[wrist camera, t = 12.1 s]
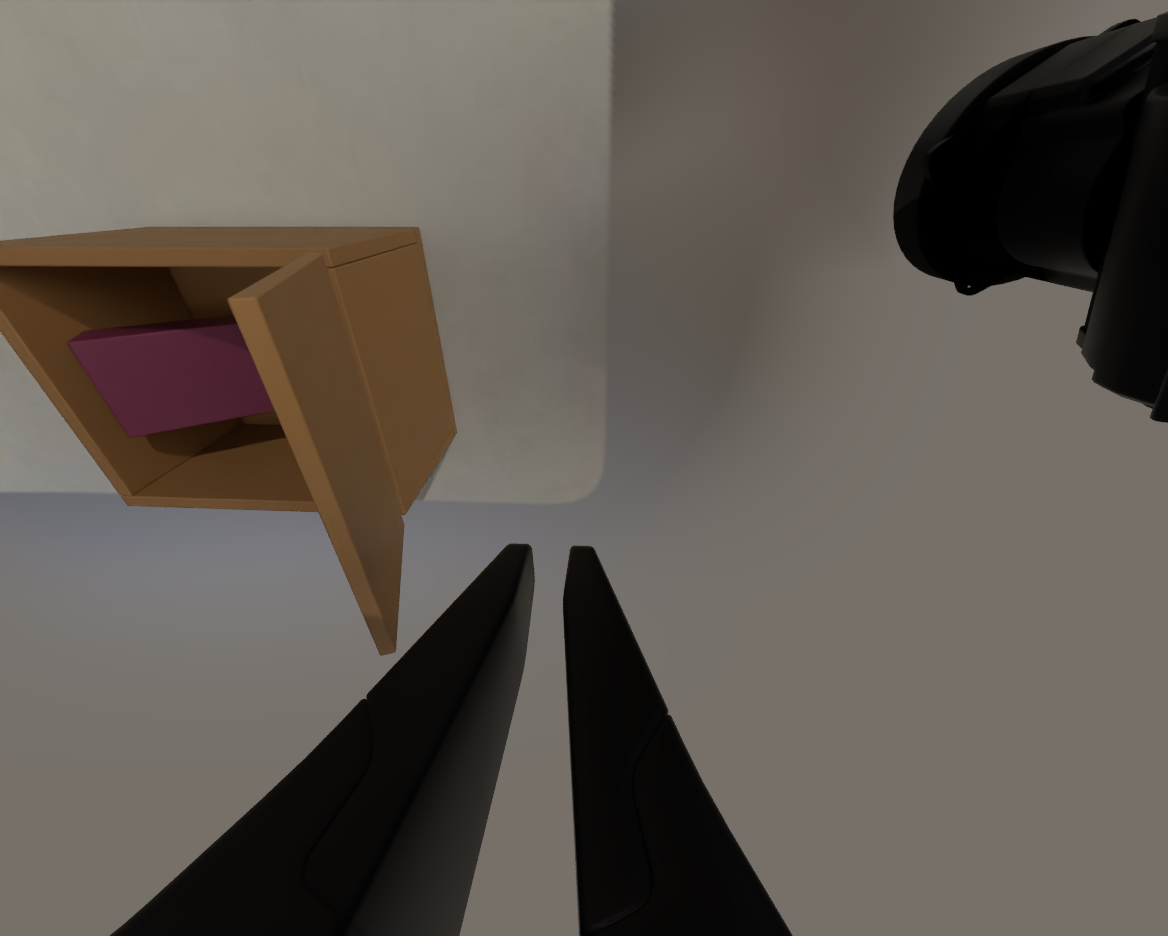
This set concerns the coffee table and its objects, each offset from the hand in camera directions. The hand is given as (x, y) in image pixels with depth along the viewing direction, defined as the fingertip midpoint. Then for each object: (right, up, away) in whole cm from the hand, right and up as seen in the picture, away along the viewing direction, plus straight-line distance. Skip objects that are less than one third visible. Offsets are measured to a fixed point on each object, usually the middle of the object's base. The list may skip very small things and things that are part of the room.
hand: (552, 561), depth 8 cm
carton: (-11, +7, +11) cm, 18 cm away
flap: (-6, +2, +3) cm, 7 cm away
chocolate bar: (-13, +6, +9) cm, 17 cm away
